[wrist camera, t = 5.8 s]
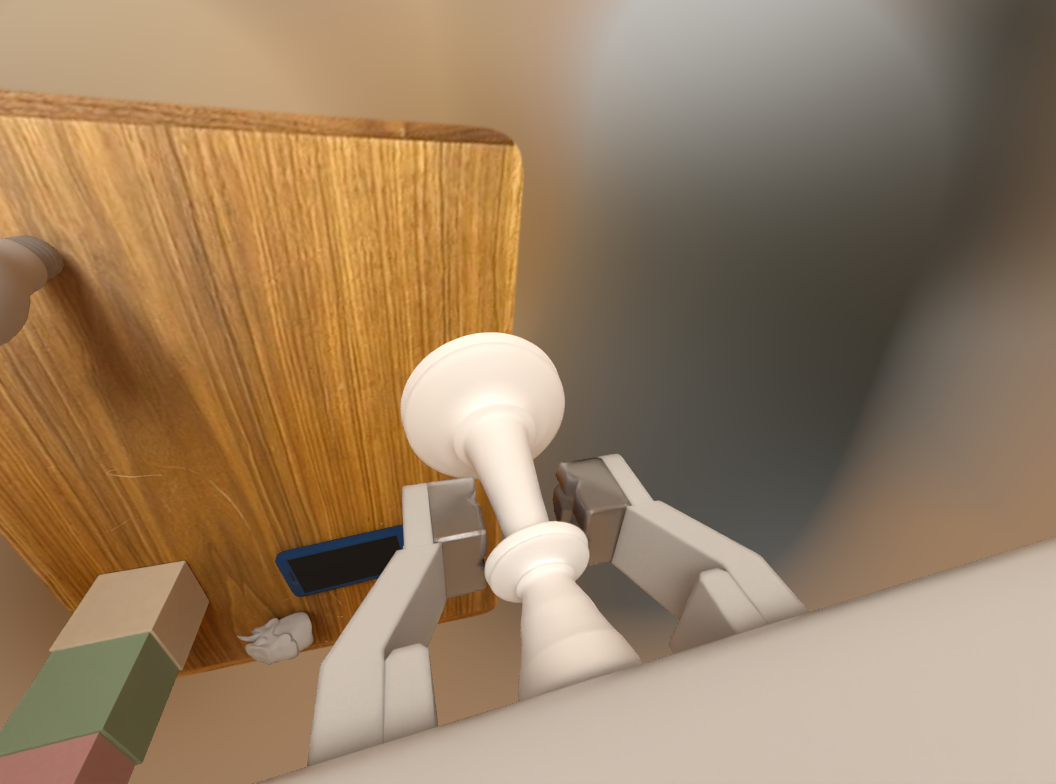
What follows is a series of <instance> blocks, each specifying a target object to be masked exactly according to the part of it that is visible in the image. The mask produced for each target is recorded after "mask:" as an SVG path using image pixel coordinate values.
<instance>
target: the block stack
mask: <svg viewBox="0 0 1056 784" xmlns="http://www.w3.org/2000/svg"><path fill="white" fill-rule="evenodd" d="M208 604H209V599H208V598H207V596H206V594H205V593H204V591H203V589H202V588H201V586H200V584H199V583H198V581H197V579H196V578H195V576H194V574H193V573H192V571H191V569H190V568H189V566H188V564H187V563H186V561H179V562H173V563H168V564H162V565H156V566H150V567H144V568H138V569H132V570H126V571H120V572H114V573H108V574H102V575H99V576H98V577H97V579H96V580H95V582H94V583H93V585H92V586H91V588H90V589H89V591H88V592H87V594H86V595H85V597H84V598H83V600H82V601H81V603H80V604H79V606H78V607H77V609H76V610H75V612H74V613H73V615H72V616H71V618H70V620H69V621H68V623H67V624H66V625H65V627H64V628H63V630H62V631H61V633H60V634H59V636H58V638H57V639H56V640H55V642H54V644H53V645H52V647H51V648H50V649H49V651H50V652H51V655H50V656H49V658H48V660H47V661H46V663H45V664H44V666H43V667H42V669H41V670H40V672H39V673H38V675H37V676H36V678H35V679H34V681H33V683H32V684H31V685H30V687H29V688H28V690H27V691H26V693H25V695H24V696H23V698H22V699H21V701H20V702H19V704H18V706H17V707H16V708H15V710H14V711H13V713H12V714H11V716H10V717H9V719H8V720H7V722H6V724H5V725H4V727H3V728H2V730H1V731H0V784H128V781H129V779H130V776H131V774H132V772H133V769H134V767H135V765H138V764H141V763H142V762H143V760H144V757H145V755H146V752H147V750H148V747H149V745H150V742H151V740H152V737H153V735H154V732H155V730H156V727H157V725H158V722H159V720H160V717H161V715H162V712H163V710H164V707H165V704H166V702H167V699H168V697H169V694H170V692H171V690H172V687H173V685H174V682H175V679H176V677H177V675H178V672H179V671H180V670H183V668H184V665H185V663H186V660H187V658H188V655H189V652H190V650H191V647H192V645H193V642H194V640H195V637H196V635H197V632H198V629H199V627H200V624H201V622H202V619H203V617H204V614H205V612H206V609H207V607H208Z"/></svg>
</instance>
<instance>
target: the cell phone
mask: <svg viewBox="0 0 1056 784" xmlns="http://www.w3.org/2000/svg"><path fill="white" fill-rule="evenodd" d="M402 549H404V533H403V525H399V526H395V527H390V528H386V529H381V530H377V531H372V532H368V533H363V534H359V535H354V536H350V537H346V538H341V539H337V540H332V541H328V542H323V543H319V544H314V545H310V546H305V547H301V548H296V549H292V550H288V551H284V552H281V553H279V554H278V555H277V557H276V560H275V562H276V564H277V566H278V568H279V570H280V572H281V573H282V575H283V577H284V578H285V580H286V582H287V584H288V585H289V587H290V589H291V591H292V592H293V593H294V595H296V596H299V597H304V596H308V595H312V594H316V593H320V592H324V591H328V590H332V589H336V588H340V587H344V586H348V585H352V584H356V583H360V582H364V581H368V580H372V579H376V578H379V576H380V575H381V573H382V572H383V570H384V569H385V567H386V566H387V564H388V563H389V561H390V560H391V558H392V557H393V555H394V554H395V552H396V551H397V550H402Z"/></svg>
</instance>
